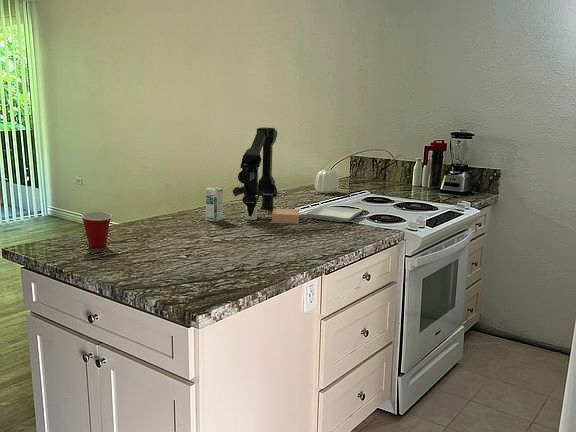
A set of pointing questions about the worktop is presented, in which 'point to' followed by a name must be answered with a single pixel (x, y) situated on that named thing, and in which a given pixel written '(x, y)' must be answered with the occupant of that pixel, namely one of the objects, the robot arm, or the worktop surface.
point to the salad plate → (333, 213)
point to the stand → (285, 216)
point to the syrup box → (214, 204)
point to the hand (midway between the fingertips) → (251, 214)
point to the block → (254, 214)
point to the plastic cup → (96, 228)
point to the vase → (326, 181)
